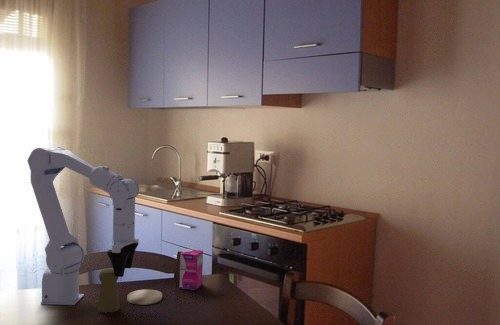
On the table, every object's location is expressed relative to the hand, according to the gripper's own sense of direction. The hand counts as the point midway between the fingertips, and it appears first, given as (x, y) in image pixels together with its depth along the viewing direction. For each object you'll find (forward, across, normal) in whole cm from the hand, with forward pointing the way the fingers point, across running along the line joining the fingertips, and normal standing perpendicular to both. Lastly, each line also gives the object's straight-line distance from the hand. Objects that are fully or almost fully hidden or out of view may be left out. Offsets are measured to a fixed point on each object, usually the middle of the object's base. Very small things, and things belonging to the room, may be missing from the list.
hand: (123, 272), depth 129 cm
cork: (+11, 0, +4) cm, 11 cm away
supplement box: (+10, +20, -16) cm, 28 cm away
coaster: (+10, +8, -4) cm, 14 cm away
